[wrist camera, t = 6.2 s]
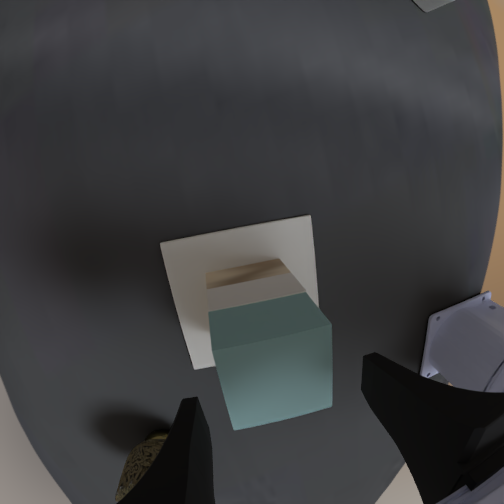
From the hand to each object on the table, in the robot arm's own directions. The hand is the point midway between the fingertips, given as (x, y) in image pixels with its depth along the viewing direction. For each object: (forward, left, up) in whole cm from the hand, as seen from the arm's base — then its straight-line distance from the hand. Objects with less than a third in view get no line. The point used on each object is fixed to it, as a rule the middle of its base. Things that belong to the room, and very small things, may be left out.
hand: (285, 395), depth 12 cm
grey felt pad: (0, 0, -10) cm, 10 cm away
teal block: (0, 0, -4) cm, 4 cm away
